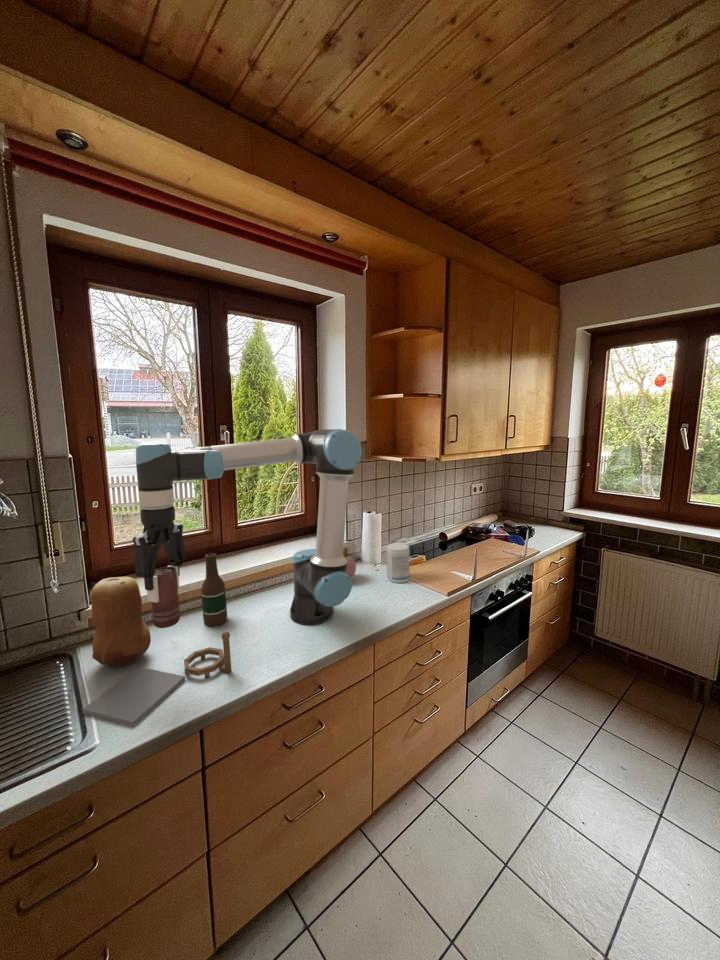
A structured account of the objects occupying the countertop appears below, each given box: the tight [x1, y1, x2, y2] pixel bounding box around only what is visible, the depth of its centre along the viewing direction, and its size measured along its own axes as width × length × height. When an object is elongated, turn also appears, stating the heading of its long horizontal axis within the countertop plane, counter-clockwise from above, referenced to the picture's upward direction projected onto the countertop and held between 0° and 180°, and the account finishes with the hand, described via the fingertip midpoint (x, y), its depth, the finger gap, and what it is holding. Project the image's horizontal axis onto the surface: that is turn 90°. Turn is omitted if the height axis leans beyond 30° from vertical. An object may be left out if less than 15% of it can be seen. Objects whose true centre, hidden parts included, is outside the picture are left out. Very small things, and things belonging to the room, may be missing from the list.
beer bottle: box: [200, 552, 228, 628], centre depth 128 cm, size 8×8×24 cm
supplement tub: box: [386, 542, 411, 584], centre depth 161 cm, size 10×10×15 cm
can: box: [151, 566, 181, 629], centre depth 96 cm, size 6×6×14 cm
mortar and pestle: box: [347, 557, 357, 579], centre depth 161 cm, size 12×12×12 cm
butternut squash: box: [90, 576, 152, 668], centre depth 106 cm, size 14×13×25 cm
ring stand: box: [183, 631, 232, 679], centre depth 104 cm, size 14×10×12 cm
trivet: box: [81, 666, 186, 727], centre depth 94 cm, size 15×16×1 cm
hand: (164, 595), depth 96 cm, fingers closed on can, 6 cm apart
